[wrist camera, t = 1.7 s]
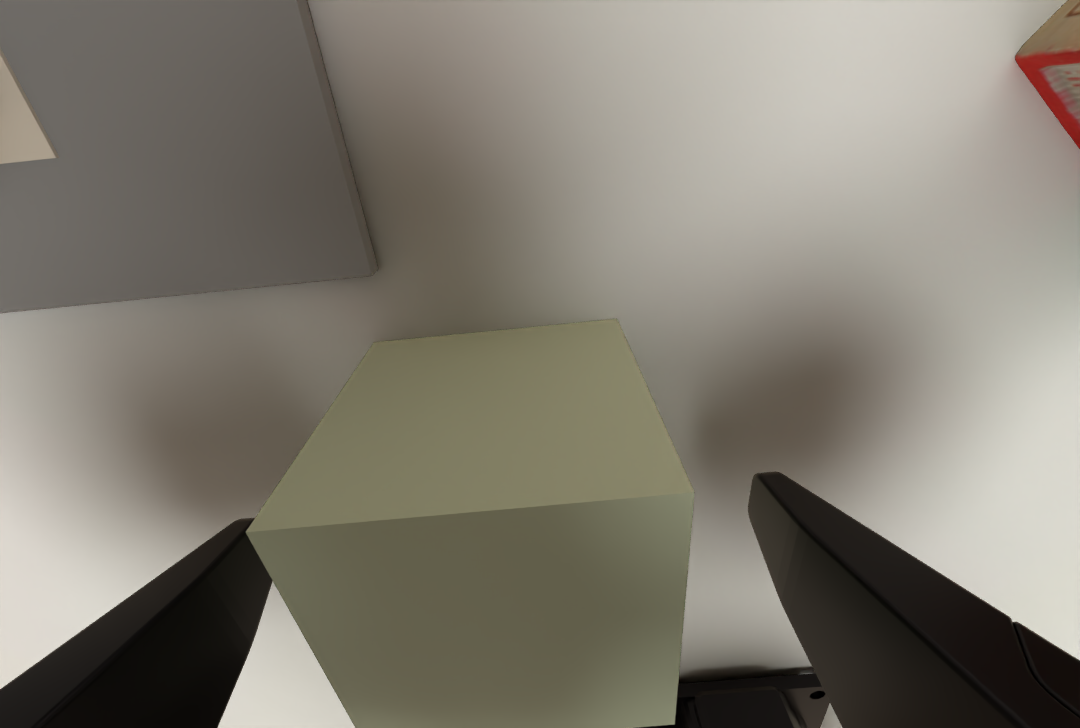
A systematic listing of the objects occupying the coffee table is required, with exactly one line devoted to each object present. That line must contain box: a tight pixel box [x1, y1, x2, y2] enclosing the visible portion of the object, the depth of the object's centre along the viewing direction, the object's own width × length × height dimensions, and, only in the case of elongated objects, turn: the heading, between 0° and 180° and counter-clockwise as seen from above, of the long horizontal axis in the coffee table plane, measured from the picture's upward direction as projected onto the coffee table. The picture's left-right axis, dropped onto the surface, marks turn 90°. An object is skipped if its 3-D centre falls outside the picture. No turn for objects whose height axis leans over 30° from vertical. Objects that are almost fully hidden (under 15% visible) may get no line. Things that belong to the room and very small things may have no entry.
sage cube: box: [246, 319, 695, 728], centre depth 8 cm, size 5×5×5 cm
